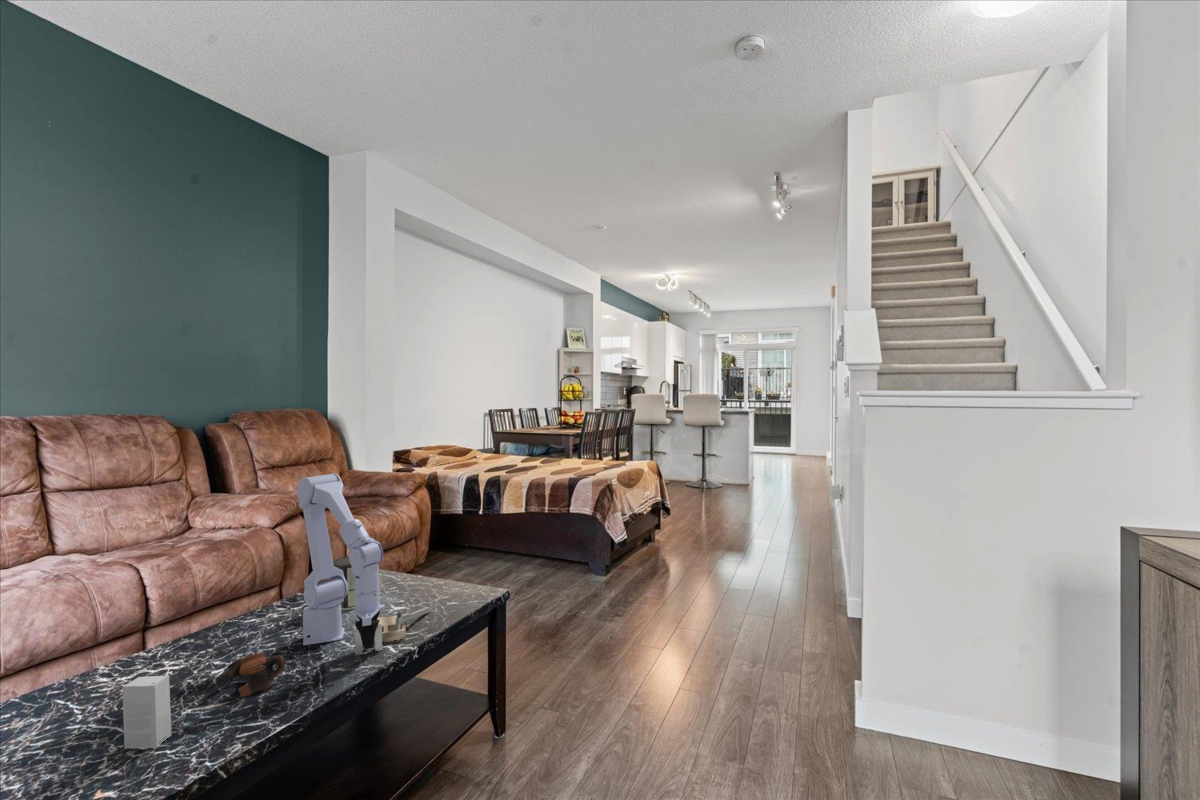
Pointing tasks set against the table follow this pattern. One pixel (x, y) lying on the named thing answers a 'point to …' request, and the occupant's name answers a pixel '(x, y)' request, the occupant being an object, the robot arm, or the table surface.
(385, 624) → the tan wooden flat block
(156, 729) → the skincare box
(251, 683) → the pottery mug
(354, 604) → the coffee can
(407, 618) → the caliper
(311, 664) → the table surface
